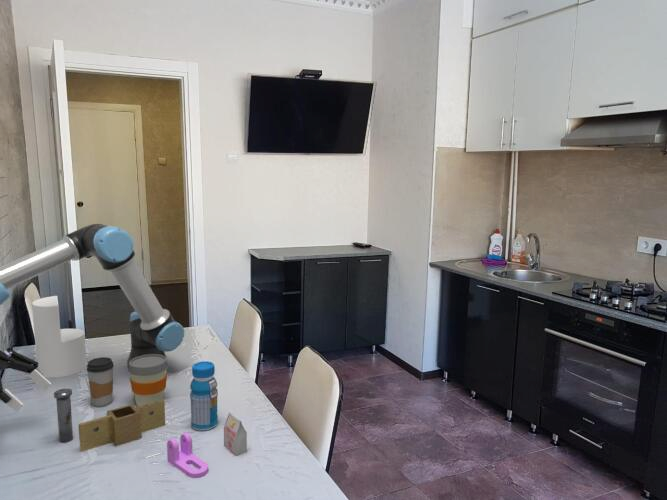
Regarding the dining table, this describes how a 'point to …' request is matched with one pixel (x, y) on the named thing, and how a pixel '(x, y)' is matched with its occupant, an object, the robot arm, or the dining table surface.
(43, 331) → the white stepped cylinder block
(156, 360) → the reusable coffee cup
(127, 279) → the robot arm
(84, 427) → the tan plate
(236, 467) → the dining table surface
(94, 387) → the coffee cup
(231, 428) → the small gable-top carton
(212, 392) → the beverage bottle
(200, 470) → the bracket
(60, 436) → the hinge pin
